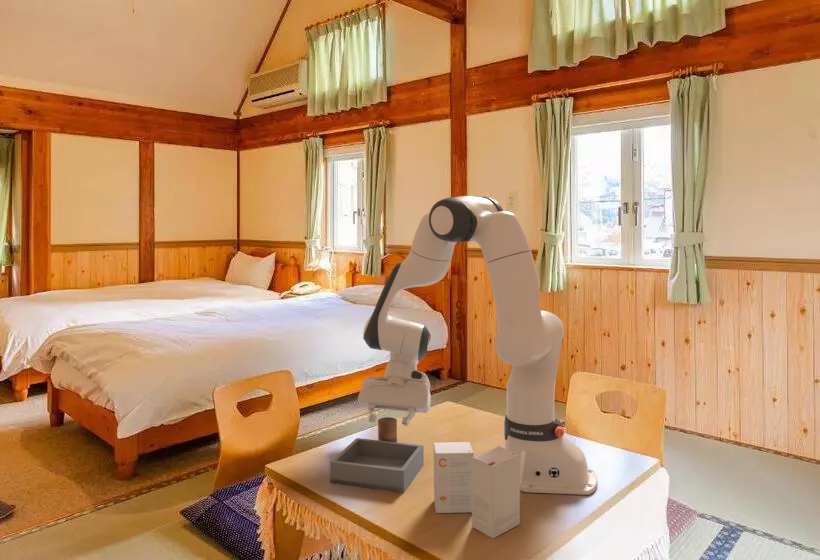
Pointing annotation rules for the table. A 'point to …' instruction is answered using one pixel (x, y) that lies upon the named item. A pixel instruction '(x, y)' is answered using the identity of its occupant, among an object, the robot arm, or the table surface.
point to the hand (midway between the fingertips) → (388, 423)
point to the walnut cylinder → (387, 429)
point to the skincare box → (495, 491)
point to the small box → (453, 477)
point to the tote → (377, 464)
